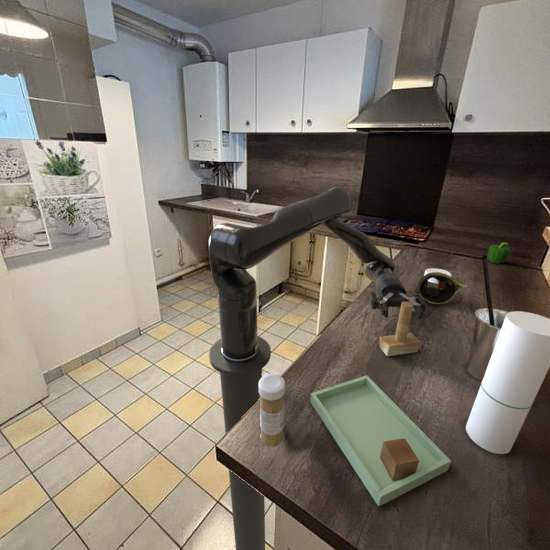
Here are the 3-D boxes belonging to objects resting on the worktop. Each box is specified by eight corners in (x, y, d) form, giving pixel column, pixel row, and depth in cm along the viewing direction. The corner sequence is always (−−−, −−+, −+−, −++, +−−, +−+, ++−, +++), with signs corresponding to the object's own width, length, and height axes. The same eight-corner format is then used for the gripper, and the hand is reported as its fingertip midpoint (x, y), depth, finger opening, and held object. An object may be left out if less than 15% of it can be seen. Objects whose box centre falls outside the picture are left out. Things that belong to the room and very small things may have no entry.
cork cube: (379, 457, 50) (383, 441, 49) (400, 453, 51) (404, 437, 49) (392, 481, 47) (396, 464, 45) (414, 477, 47) (419, 460, 46)
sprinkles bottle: (268, 423, 57) (268, 368, 52) (288, 434, 55) (290, 378, 50) (254, 440, 54) (253, 384, 49) (275, 453, 52) (276, 396, 46)
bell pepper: (484, 262, 141) (490, 242, 137) (486, 258, 147) (492, 239, 143) (505, 266, 136) (512, 246, 132) (506, 262, 142) (513, 242, 138)
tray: (310, 401, 62) (310, 393, 61) (365, 383, 67) (367, 375, 66) (378, 507, 44) (380, 497, 43) (448, 470, 49) (451, 460, 48)
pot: (455, 266, 112) (466, 267, 95) (461, 295, 111) (473, 301, 95) (406, 274, 118) (409, 277, 101) (412, 301, 118) (416, 309, 101)
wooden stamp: (378, 346, 80) (385, 302, 74) (408, 342, 82) (418, 298, 76) (387, 357, 76) (395, 310, 70) (418, 352, 78) (429, 306, 72)
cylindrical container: (514, 436, 55) (567, 323, 45) (507, 462, 50) (564, 342, 40) (471, 413, 60) (510, 306, 50) (461, 435, 55) (501, 322, 45)
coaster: (420, 280, 121) (422, 272, 120) (427, 273, 128) (429, 266, 127) (446, 287, 115) (449, 279, 114) (452, 279, 122) (454, 271, 121)
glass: (447, 373, 70) (481, 256, 59) (462, 353, 77) (496, 245, 66) (500, 399, 63) (552, 271, 51) (512, 374, 70) (560, 257, 58)
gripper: (411, 300, 91) (429, 329, 76) (364, 297, 93) (373, 325, 78) (415, 278, 88) (435, 304, 74) (367, 276, 90) (377, 300, 75)
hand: (403, 315), depth 76 cm, fingers open, 8 cm apart
